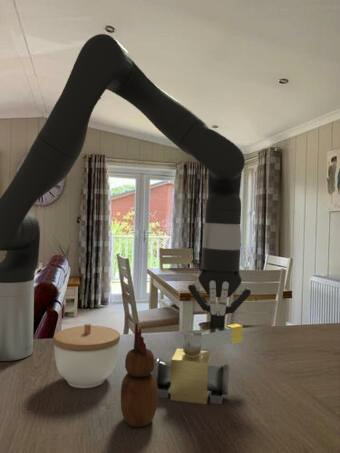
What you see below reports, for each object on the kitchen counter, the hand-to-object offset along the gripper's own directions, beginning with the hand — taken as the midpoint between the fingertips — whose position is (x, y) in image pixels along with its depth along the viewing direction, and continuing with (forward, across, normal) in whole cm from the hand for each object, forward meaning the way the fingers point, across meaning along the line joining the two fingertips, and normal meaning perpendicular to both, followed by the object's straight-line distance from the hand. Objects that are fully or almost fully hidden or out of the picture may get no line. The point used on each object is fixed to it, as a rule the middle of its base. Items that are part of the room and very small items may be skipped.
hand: (217, 332), depth 77 cm
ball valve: (+10, -4, -8) cm, 13 cm away
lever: (+2, 0, -4) cm, 4 cm away
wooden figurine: (+10, -11, -19) cm, 24 cm away
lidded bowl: (+10, -25, -7) cm, 28 cm away
